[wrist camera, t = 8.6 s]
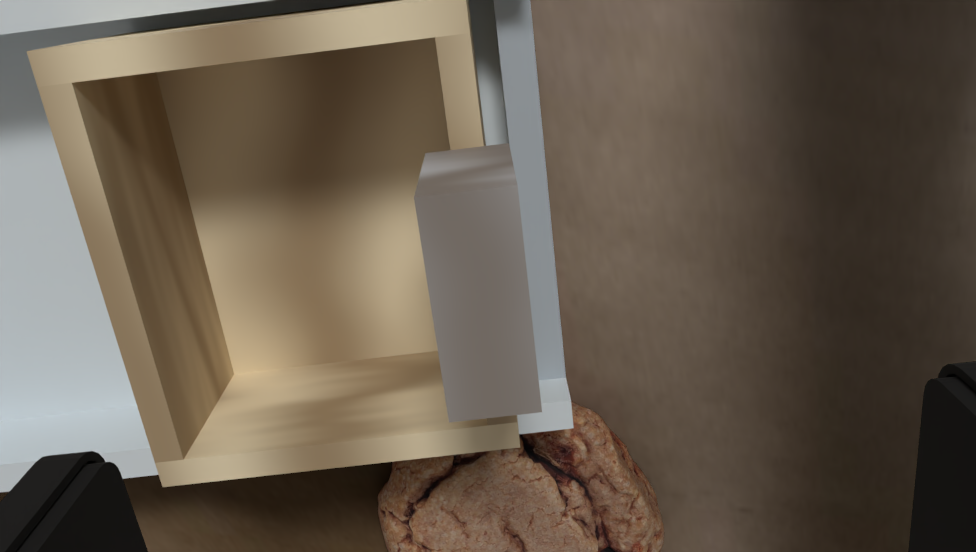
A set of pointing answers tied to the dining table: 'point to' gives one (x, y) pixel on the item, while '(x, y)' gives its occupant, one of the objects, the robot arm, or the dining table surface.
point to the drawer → (300, 236)
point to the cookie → (525, 497)
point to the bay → (69, 269)
